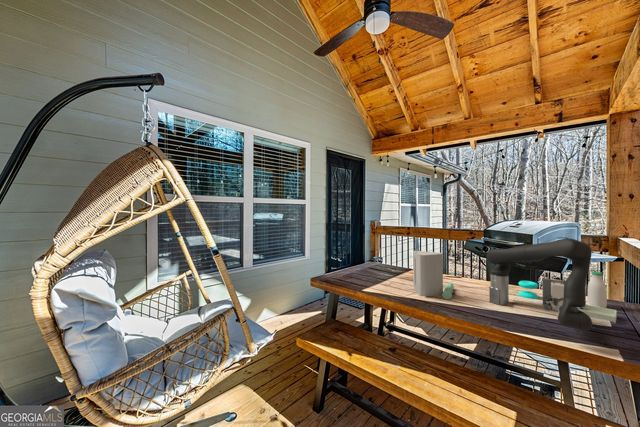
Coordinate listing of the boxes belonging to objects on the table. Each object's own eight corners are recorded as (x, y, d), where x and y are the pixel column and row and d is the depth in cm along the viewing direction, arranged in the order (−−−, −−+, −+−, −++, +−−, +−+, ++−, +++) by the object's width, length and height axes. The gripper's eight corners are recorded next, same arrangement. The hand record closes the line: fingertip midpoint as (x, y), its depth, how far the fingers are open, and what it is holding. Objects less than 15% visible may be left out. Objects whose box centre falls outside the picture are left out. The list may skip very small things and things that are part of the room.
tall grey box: (408, 294, 183) (407, 253, 182) (415, 288, 194) (414, 250, 194) (437, 299, 171) (437, 256, 170) (443, 293, 183) (442, 252, 182)
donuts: (515, 279, 177) (532, 280, 175) (515, 294, 177) (532, 295, 175) (523, 284, 167) (541, 284, 165) (523, 299, 167) (541, 300, 165)
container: (447, 280, 194) (444, 288, 173) (456, 284, 191) (453, 293, 170) (444, 287, 195) (440, 296, 174) (452, 291, 193) (449, 301, 171)
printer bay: (574, 316, 141) (574, 286, 141) (545, 311, 148) (544, 283, 148) (569, 309, 151) (569, 281, 151) (542, 304, 158) (542, 278, 158)
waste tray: (615, 324, 131) (615, 317, 131) (578, 316, 141) (578, 309, 141) (616, 316, 140) (616, 310, 140) (582, 309, 150) (582, 303, 150)
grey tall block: (564, 311, 146) (564, 282, 146) (552, 309, 149) (552, 281, 148) (562, 307, 151) (562, 279, 150) (551, 305, 154) (550, 278, 153)
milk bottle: (609, 309, 149) (609, 274, 149) (590, 307, 153) (590, 272, 153) (603, 305, 156) (603, 271, 155) (585, 302, 160) (585, 270, 160)
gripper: (587, 303, 123) (579, 293, 136) (547, 297, 131) (543, 289, 144) (588, 319, 123) (579, 308, 136) (547, 313, 131) (543, 303, 144)
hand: (561, 298), depth 140 cm, fingers open, 8 cm apart
